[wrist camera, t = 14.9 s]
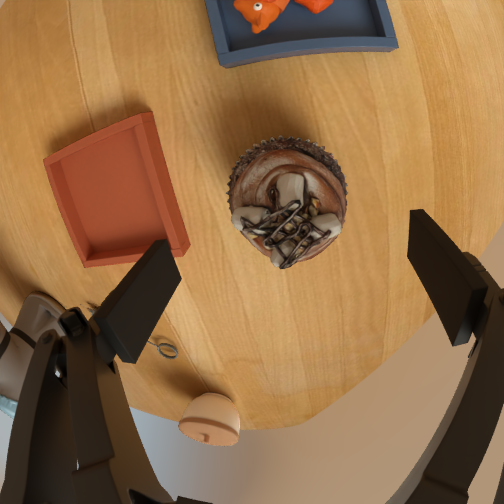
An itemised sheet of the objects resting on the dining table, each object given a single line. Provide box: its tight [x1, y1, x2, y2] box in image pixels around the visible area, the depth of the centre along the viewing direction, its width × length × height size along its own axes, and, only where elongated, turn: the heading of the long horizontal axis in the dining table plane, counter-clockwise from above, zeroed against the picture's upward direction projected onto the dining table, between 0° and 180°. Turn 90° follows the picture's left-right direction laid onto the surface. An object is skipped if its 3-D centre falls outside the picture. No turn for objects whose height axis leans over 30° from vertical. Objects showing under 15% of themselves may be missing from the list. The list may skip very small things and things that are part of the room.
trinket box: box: [178, 393, 240, 446], centre depth 43 cm, size 11×11×9 cm
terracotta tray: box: [43, 111, 190, 268], centre depth 28 cm, size 15×15×2 cm
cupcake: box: [226, 135, 348, 269], centre depth 21 cm, size 10×10×10 cm
